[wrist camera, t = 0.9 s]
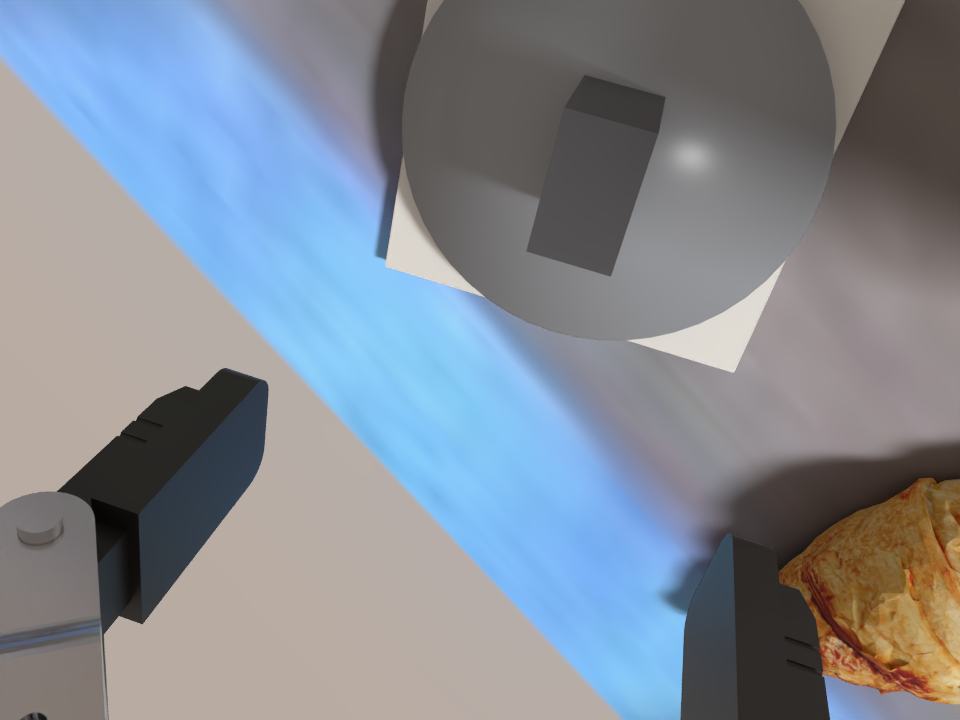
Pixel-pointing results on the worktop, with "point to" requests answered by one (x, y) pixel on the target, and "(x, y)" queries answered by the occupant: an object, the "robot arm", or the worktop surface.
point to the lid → (618, 154)
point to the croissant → (889, 593)
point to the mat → (722, 339)
